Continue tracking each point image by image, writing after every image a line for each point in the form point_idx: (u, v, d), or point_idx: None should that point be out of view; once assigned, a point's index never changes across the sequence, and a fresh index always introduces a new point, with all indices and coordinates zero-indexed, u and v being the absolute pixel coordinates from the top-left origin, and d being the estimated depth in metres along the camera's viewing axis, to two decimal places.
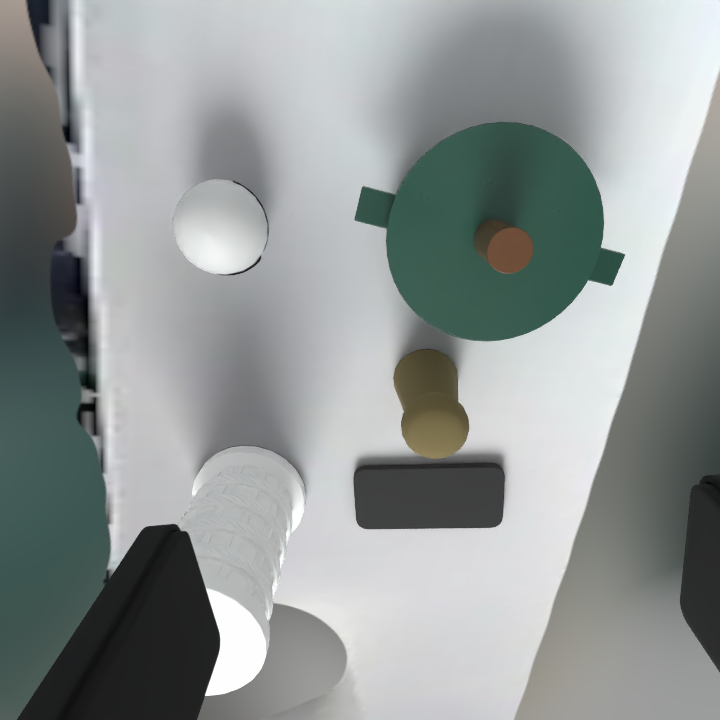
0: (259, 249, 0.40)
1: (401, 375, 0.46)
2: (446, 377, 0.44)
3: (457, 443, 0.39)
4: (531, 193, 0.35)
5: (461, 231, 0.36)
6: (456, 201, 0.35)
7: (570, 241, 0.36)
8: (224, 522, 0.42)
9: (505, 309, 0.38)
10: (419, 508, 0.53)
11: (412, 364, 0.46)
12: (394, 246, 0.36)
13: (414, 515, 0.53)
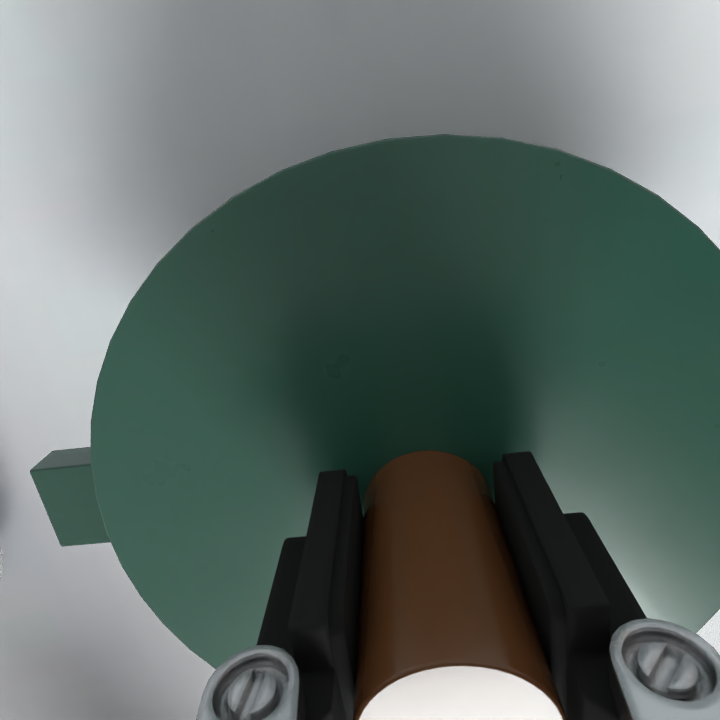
0: None
1: None
2: None
3: None
4: (485, 346, 0.10)
5: None
6: (266, 447, 0.11)
7: (675, 433, 0.11)
8: None
9: None
10: None
11: None
12: (167, 600, 0.13)
13: None
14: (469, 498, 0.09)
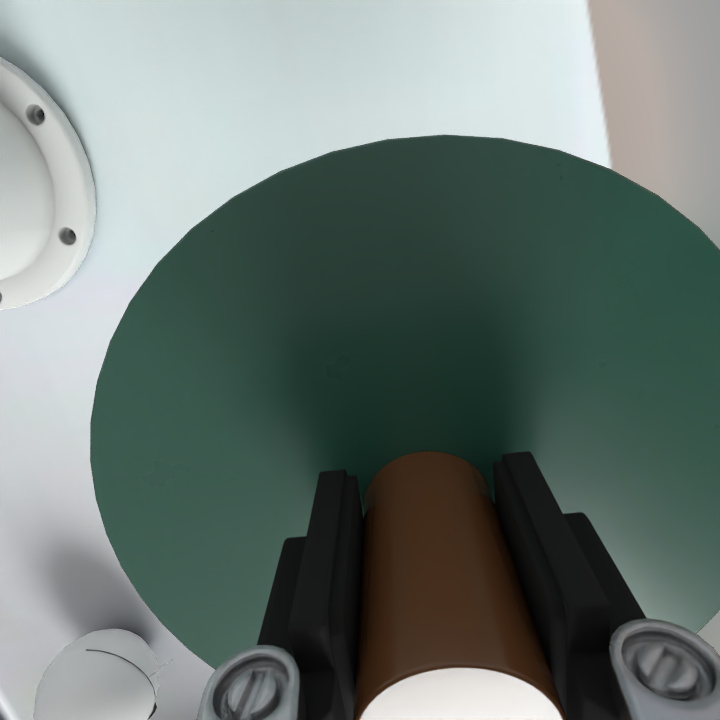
0: (145, 712, 0.33)
1: None
2: None
3: None
4: (486, 347, 0.10)
5: None
6: (265, 447, 0.11)
7: (676, 434, 0.10)
8: None
9: None
10: None
11: None
12: (166, 601, 0.13)
13: None
14: (469, 499, 0.09)
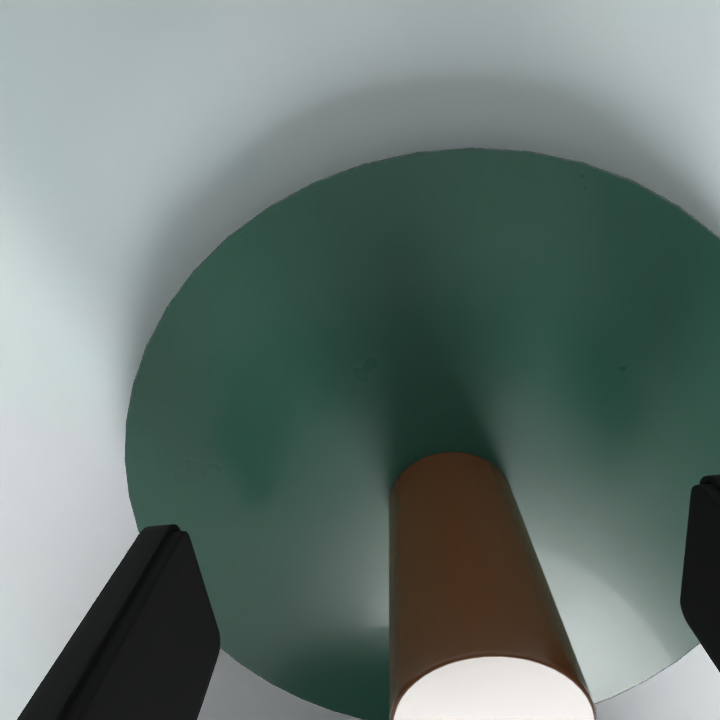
0: None
1: None
2: None
3: None
4: (509, 351, 0.10)
5: (348, 513, 0.12)
6: (294, 448, 0.11)
7: (694, 436, 0.11)
8: None
9: None
10: None
11: None
12: None
13: None
14: (494, 498, 0.10)
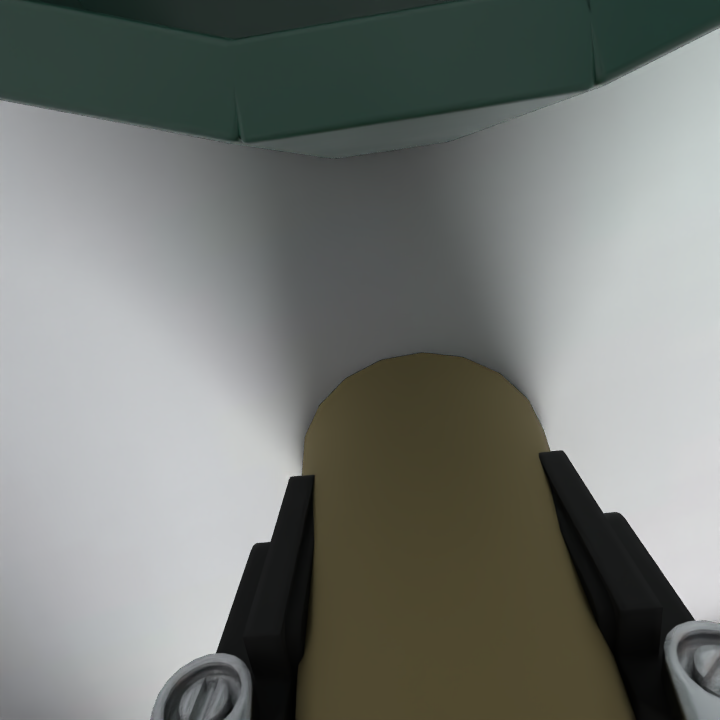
0: None
1: None
2: (486, 489, 0.08)
3: None
4: None
5: None
6: None
7: None
8: None
9: None
10: None
11: (324, 453, 0.10)
12: None
13: None
14: None
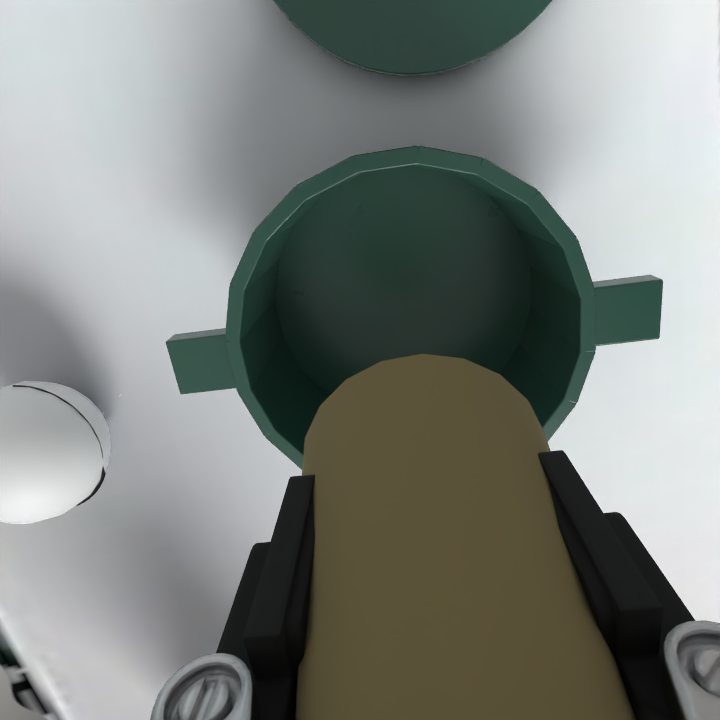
0: (88, 467, 0.26)
1: None
2: (486, 491, 0.08)
3: None
4: None
5: None
6: None
7: None
8: None
9: None
10: None
11: (324, 454, 0.10)
12: None
13: None
14: None
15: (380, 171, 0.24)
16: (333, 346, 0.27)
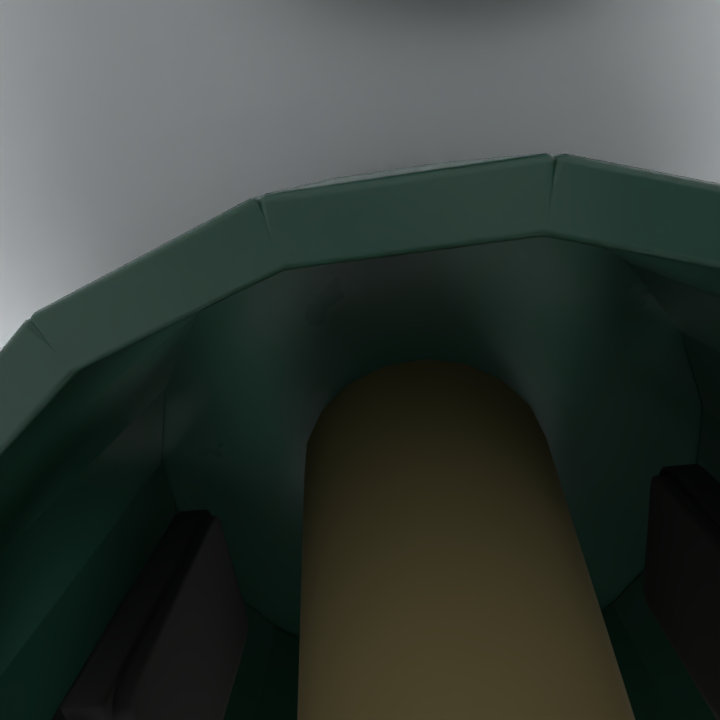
0: None
1: (304, 517, 0.11)
2: (488, 498, 0.08)
3: None
4: None
5: None
6: None
7: None
8: None
9: None
10: None
11: (326, 460, 0.10)
12: None
13: None
14: None
15: None
16: (285, 547, 0.14)
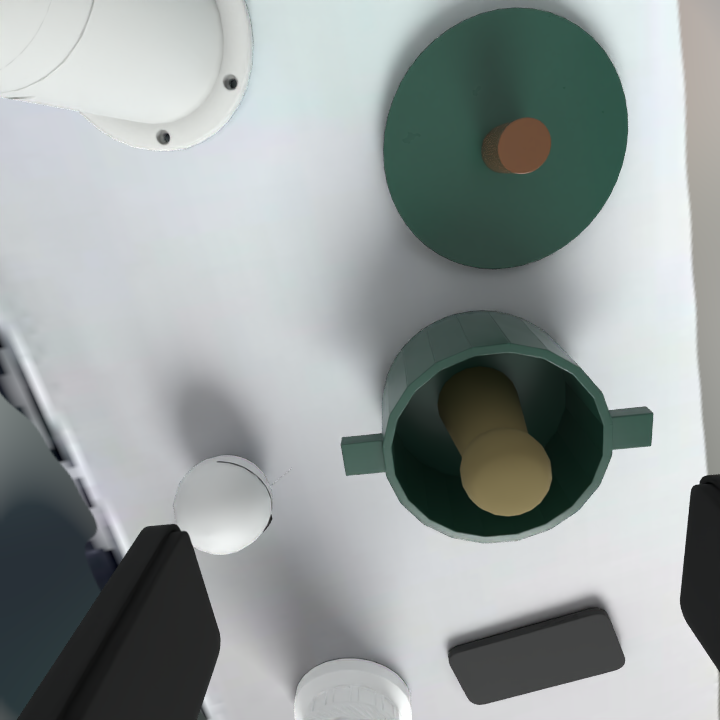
0: (266, 516, 0.38)
1: (446, 412, 0.37)
2: (500, 399, 0.34)
3: (542, 488, 0.29)
4: (526, 81, 0.31)
5: (465, 154, 0.32)
6: (448, 125, 0.32)
7: (589, 115, 0.31)
8: None
9: (545, 218, 0.33)
10: (529, 672, 0.48)
11: (453, 395, 0.36)
12: (402, 199, 0.33)
13: (527, 680, 0.48)
14: None
15: None
16: (428, 430, 0.40)
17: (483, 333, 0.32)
